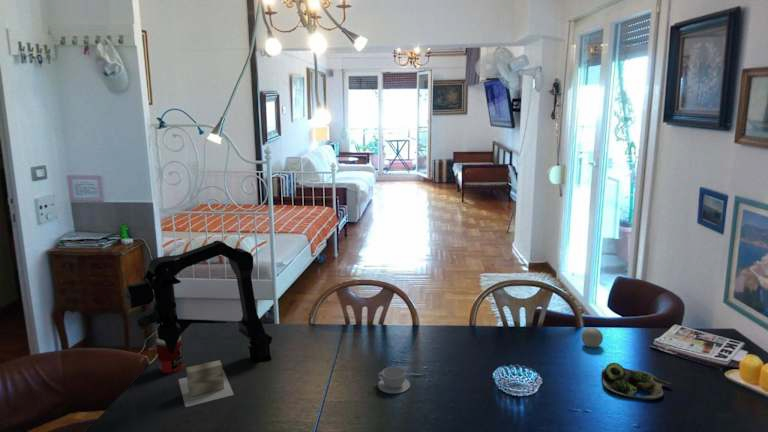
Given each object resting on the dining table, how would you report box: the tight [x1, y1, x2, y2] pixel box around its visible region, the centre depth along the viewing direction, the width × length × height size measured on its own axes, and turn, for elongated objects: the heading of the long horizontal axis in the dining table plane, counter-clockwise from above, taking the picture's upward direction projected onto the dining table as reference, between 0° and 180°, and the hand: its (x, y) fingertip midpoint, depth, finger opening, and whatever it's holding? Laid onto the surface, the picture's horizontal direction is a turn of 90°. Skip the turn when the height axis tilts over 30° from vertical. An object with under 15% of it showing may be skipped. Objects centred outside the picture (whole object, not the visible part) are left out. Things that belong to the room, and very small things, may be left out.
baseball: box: [581, 327, 604, 349], centre depth 191 cm, size 7×7×7 cm
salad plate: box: [600, 362, 672, 400], centre depth 166 cm, size 19×18×5 cm
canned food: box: [155, 335, 185, 375], centre depth 182 cm, size 8×8×11 cm
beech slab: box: [185, 359, 224, 397], centre depth 168 cm, size 10×4×8 cm, turn 116°
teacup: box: [377, 366, 411, 394], centre depth 169 cm, size 10×10×5 cm
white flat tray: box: [178, 368, 235, 408], centre depth 171 cm, size 14×18×1 cm
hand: (170, 347), depth 168 cm, fingers open, 9 cm apart
